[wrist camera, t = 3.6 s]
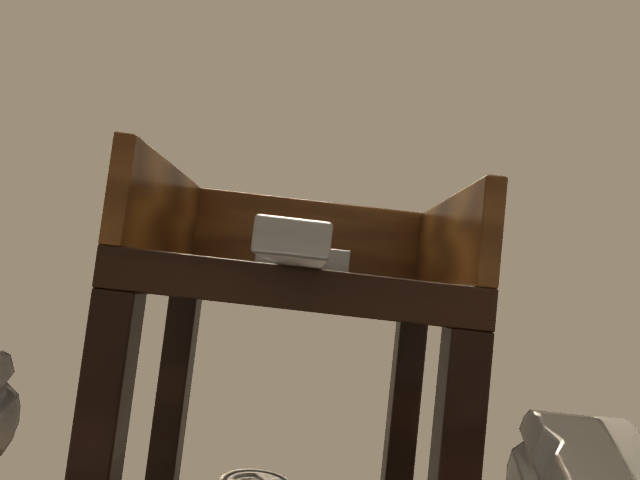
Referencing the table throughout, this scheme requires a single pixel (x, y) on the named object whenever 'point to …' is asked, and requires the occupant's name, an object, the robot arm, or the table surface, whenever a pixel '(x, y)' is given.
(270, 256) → the fork
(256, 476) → the beer can
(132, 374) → the stand
